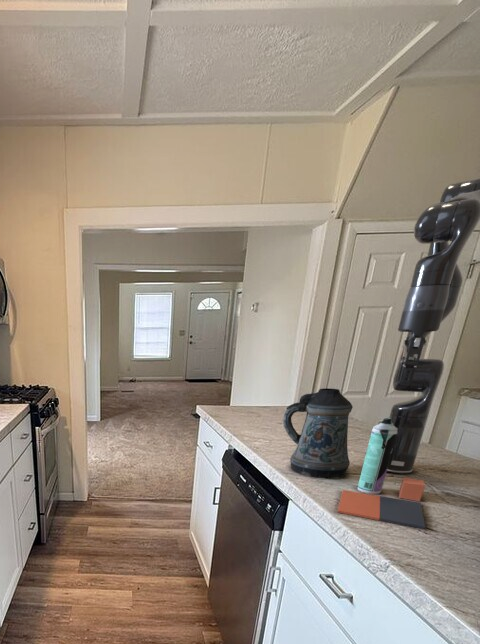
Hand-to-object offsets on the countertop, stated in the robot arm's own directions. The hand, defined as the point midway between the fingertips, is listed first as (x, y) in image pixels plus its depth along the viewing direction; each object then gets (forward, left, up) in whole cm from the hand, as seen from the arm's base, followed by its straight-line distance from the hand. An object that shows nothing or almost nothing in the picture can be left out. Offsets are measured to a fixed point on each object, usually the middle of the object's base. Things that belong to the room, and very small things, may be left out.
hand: (403, 382), depth 97 cm
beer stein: (-14, -17, -29) cm, 37 cm away
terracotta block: (-3, +8, -29) cm, 30 cm away
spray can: (-3, -1, -29) cm, 30 cm away
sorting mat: (+10, +1, -29) cm, 31 cm away
